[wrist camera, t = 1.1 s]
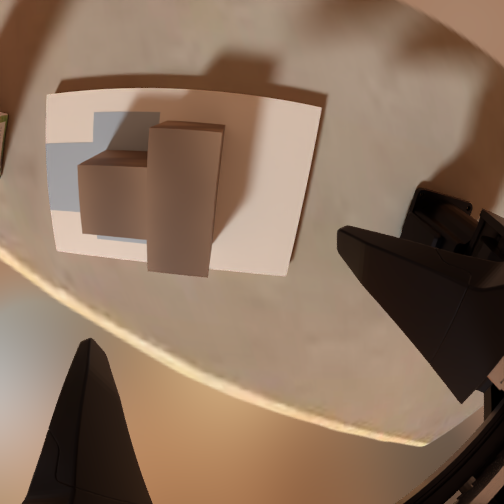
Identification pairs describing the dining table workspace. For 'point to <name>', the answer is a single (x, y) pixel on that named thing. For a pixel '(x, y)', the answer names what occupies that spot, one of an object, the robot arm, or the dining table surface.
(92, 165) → the walnut T block
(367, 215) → the dining table surface
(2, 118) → the syrup box
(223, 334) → the dining table surface
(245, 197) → the board
